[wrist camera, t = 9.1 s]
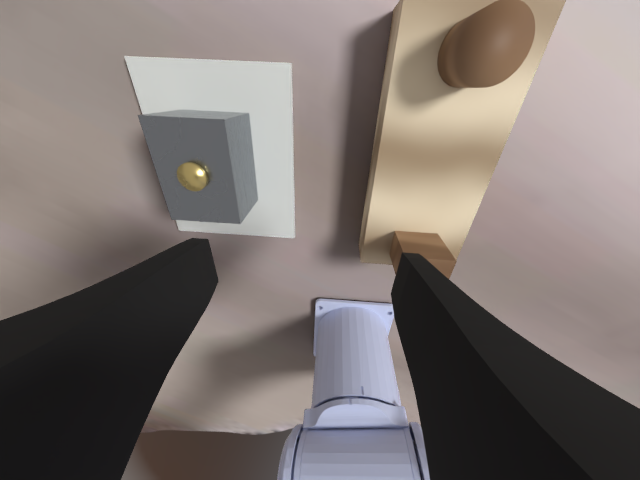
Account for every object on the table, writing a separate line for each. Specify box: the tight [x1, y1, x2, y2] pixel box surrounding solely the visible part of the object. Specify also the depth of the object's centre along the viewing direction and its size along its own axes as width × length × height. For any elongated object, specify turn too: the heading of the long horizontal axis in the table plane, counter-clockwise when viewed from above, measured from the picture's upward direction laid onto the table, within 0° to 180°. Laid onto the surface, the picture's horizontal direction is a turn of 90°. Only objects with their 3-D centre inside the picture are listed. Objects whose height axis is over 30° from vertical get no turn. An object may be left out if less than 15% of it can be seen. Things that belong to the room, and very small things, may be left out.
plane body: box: [359, 0, 566, 279], centre depth 14 cm, size 15×7×6 cm, turn 178°
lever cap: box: [138, 110, 258, 224], centre depth 15 cm, size 6×4×4 cm
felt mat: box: [124, 56, 295, 238], centre depth 18 cm, size 12×10×1 cm
